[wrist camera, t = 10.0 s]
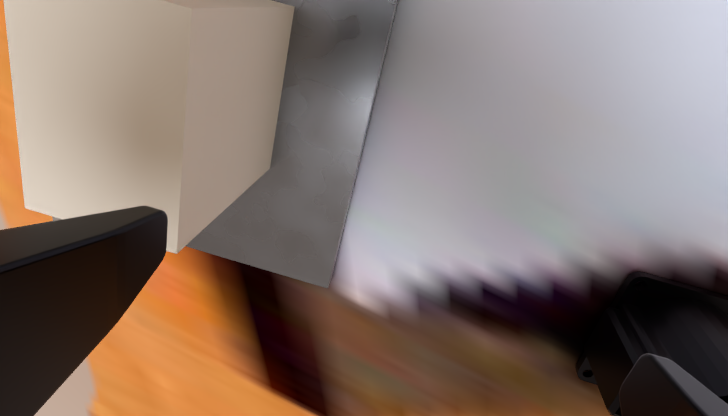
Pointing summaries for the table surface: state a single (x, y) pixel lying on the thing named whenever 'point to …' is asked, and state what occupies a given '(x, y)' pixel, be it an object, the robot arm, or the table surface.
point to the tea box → (145, 104)
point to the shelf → (310, 144)
